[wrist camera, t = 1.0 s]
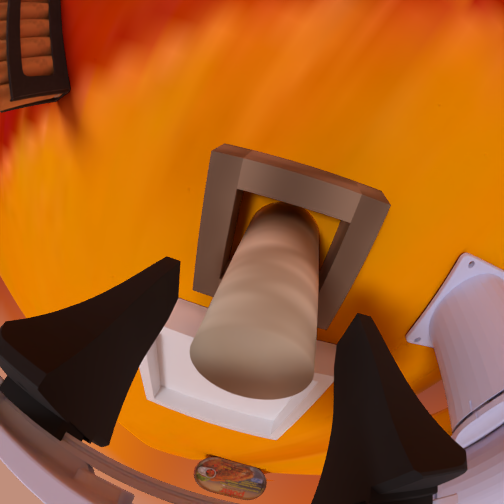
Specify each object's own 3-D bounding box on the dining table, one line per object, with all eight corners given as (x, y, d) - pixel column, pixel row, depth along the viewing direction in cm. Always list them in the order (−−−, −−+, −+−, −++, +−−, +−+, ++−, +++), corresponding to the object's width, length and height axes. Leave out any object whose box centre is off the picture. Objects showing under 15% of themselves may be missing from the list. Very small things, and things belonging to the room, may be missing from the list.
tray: (337, 344, 19) (337, 377, 17) (280, 418, 28) (276, 440, 25) (148, 286, 20) (129, 312, 18) (156, 379, 28) (147, 399, 26)
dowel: (328, 214, 14) (336, 349, 7) (305, 272, 17) (290, 408, 9) (257, 193, 15) (193, 308, 7) (242, 253, 17) (187, 378, 9)
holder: (381, 191, 13) (390, 205, 11) (326, 308, 18) (326, 330, 16) (224, 143, 14) (211, 150, 12) (203, 271, 18) (192, 290, 17)
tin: (270, 470, 44) (262, 503, 37) (264, 472, 46) (256, 503, 39) (202, 450, 43) (190, 485, 36) (199, 452, 45) (187, 485, 38)
